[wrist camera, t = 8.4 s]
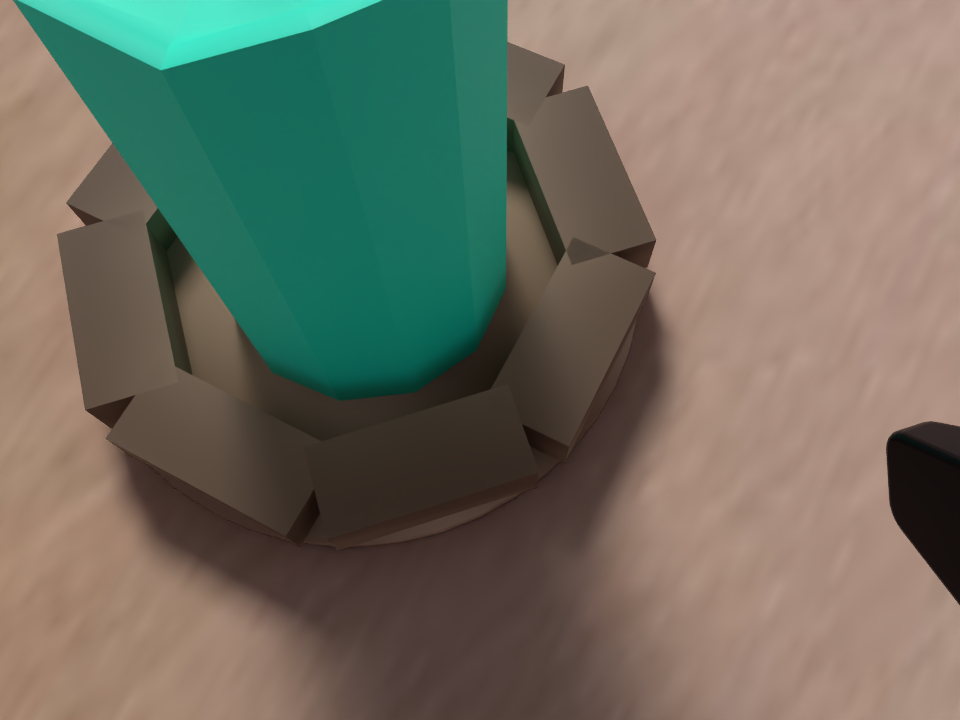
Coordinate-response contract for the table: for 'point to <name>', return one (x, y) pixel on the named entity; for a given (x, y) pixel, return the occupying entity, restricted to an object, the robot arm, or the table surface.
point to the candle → (315, 166)
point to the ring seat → (385, 419)
